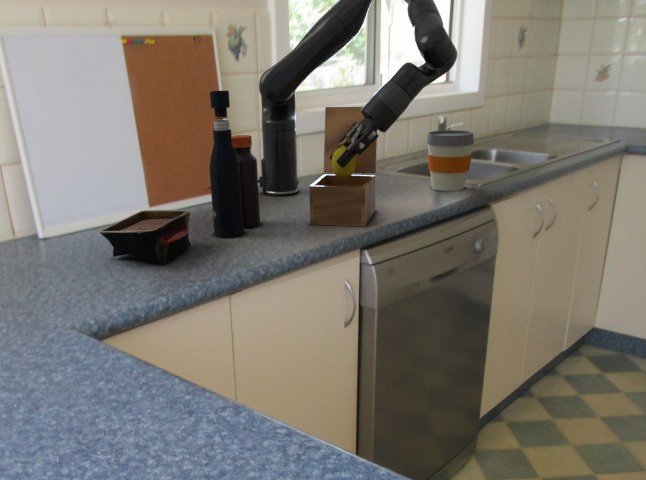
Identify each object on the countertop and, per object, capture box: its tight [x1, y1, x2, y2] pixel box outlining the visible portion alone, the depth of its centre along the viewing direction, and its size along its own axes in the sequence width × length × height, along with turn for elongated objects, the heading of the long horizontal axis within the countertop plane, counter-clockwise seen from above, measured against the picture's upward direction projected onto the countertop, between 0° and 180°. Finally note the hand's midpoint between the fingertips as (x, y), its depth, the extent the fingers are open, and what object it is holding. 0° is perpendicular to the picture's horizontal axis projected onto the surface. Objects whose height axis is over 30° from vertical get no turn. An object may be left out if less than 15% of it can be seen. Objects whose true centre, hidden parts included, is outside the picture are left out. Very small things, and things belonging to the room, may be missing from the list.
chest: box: [308, 173, 376, 227], centre depth 155 cm, size 15×13×9 cm
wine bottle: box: [209, 90, 245, 239], centre depth 140 cm, size 6×6×30 cm
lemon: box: [332, 146, 356, 181], centre depth 152 cm, size 6×6×8 cm
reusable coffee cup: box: [426, 129, 475, 192], centre depth 183 cm, size 13×13×15 cm
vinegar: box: [231, 134, 261, 229], centre depth 149 cm, size 7×7×20 cm
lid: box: [323, 106, 378, 174], centre depth 161 cm, size 15×13×5 cm
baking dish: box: [99, 209, 192, 266], centre depth 132 cm, size 14×18×10 cm
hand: (336, 162), depth 152 cm, fingers closed on lemon, 5 cm apart
